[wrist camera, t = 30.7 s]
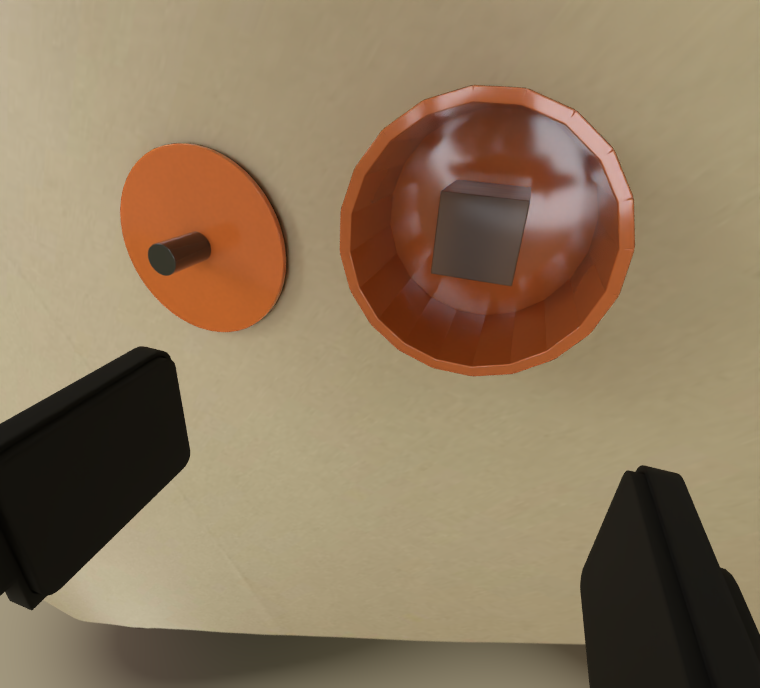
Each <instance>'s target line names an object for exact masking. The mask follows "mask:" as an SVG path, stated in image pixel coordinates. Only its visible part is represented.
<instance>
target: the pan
mask: <svg viewBox="0 0 760 688" xmlns="http://www.w3.org/2000/svg"><path fill="white" fill-rule="evenodd" d="M456 180H467V181H476V182H485V183H495V184H504V185H513V186H522V187H531V197H530V205H529V210H528V214H527V219H526V224H525V228H524V233H523V237H522V242H521V247H520V251H519V256H518V261H517V265H516V270H515V275H514V279H513V284H512V286H505V285H499V284H493V283H487V282H481V281H474V280H468V279H462V278H456V277H449V276H443V275H437V274H431V266H432V258H433V250H434V242H435V234H436V226H437V218H438V210H439V202H440V193H441V191H442V190H443V189H444V188H446V187H447V186H449V185H450V184H451V183H453V182H454V181H456ZM634 248H635V228H634V199H633V194H632V192H631V189H630V187H629V184H628V182H627V180H626V177H625V175H624V172H623V170H622V167H621V165H620V162H619V160H618V158H617V155H616V153H615V150H613V147H612V146H611V145H610V144H609V143H608V142H607V141H606V140H605V139H604V138H603V137H602V136H601V135H600V134H599V133H598V132H597V131H596V130H595V129H594V128H593V127H592V126H591V125H590V124H589V122H588V121H587V120H586V119H585V118H584V117H583V116H582V115H581V114H580V113H579V112H578V111H576V110H575V109H573V108H571V107H568V106H566V105H564V104H562V103H560V102H557V101H555V100H553V99H551V98H548V97H546V96H544V95H542V94H540V93H537V92H535V91H533V90H531V89H526V88H521V87H503V86H485V85H471V86H468V87H464V88H461V89H458V90H454V91H451V92H448V93H444V94H441V95H438V96H435V97H431V98H428V99H425V100H423V101H421V102H420V103H418V104H417V105H415V106H414V107H413V108H411V109H410V110H409V111H407V112H406V113H404V114H403V115H402V116H400V117H399V118H397V119H396V120H395V121H393V122H392V123H391V124H389V125H388V126H386V127H385V128H384V129H383V130H382V131H381V132H380V133H379V135H378V136H377V138H376V139H375V140H374V142H373V143H372V144H371V146H370V147H369V149H368V150H367V151H366V153H365V154H364V156H363V157H362V158H361V160H360V161H359V162H358V164H357V165H356V167H355V169H354V171H353V174H352V177H351V180H350V183H349V186H348V189H347V192H346V195H345V198H344V201H343V204H342V207H341V219H340V255H341V259H342V262H343V266H344V270H345V273H346V277H347V281H348V284H349V288H350V290H351V293H352V294H353V296H354V298H355V299H356V301H357V303H358V304H359V306H360V308H361V309H362V311H363V313H364V314H365V316H366V317H367V319H368V321H369V322H370V323H371V325H372V326H373V327H374V328H375V329H376V330H377V331H378V332H380V333H381V334H382V335H383V336H384V337H385V338H386V339H387V340H388V341H389V342H390V343H391V344H392V345H394V346H395V347H396V348H397V349H398V350H399V351H401V352H403V353H405V354H407V355H409V356H411V357H413V358H415V359H417V360H418V361H420V362H422V363H424V364H426V365H428V366H430V367H432V368H433V367H434V368H435V369H440V370H445V371H449V372H454V373H459V374H463V375H468V376H486V375H503V374H513V373H517V372H520V371H523V370H526V369H528V368H531V367H534V366H537V365H540V364H543V363H546V362H549V361H551V360H553V359H556V358H557V357H558V356H560V355H561V354H563V353H564V352H565V351H567V350H568V349H570V348H571V347H572V346H574V345H575V344H577V343H578V342H579V341H581V340H582V339H584V338H585V337H586V336H588V335H589V334H590V333H591V332H592V331H593V329H594V328H595V327H596V325H597V324H598V323H599V321H600V320H601V319H602V317H603V316H604V315H605V314H606V312H607V311H608V310H609V308H610V307H611V306H612V304H613V303H614V302H615V300H616V299H617V298H618V295H619V294H620V291H621V288H622V286H623V283H624V280H625V277H626V274H627V271H628V268H629V265H630V262H631V259H632V256H633V253H634Z"/></svg>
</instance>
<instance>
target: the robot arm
mask: <svg viewBox="0 0 760 688" xmlns="http://www.w3.org/2000/svg"><path fill="white" fill-rule="evenodd" d="M189 458H190V447H189V441H188V436H187V430H186V424H185V418H184V413H183V407H182V401H181V395H180V390H179V384H178V378H177V372H176V367H175V363H174V362H173V361H172V360H171V358H170V356H169V354H168V353H166V352H164V351H161V350H157V349H152V348H148V347H141V346H140V347H137V348H135V349H133V350H131V351H129V352H127V353H126V354H124V355H122V356H120V357H119V358H117V359H115V360H113V361H111V362H110V363H108V364H106V365H104V366H103V367H101V368H99V369H97V370H95V371H94V372H92V373H90V374H88V375H86V376H85V377H83V378H81V379H79V380H78V381H76V382H74V383H72V384H70V385H69V386H67V387H65V388H63V389H62V390H60V391H58V392H56V393H54V394H53V395H51V396H49V397H47V398H46V399H44V400H42V401H40V402H38V403H37V404H35V405H33V406H31V407H29V408H28V409H26V410H24V411H22V412H21V413H19V414H17V415H15V416H13V417H12V418H10V419H8V420H6V421H5V422H3V423H1V424H0V595H2V594H3V593H4V592H6V594H7V596H8V598H9V600H10V601H12V602H14V603H16V604H18V605H21V606H23V607H26V608H27V609H30V610H33V609H34V608H35V607H36V606H37V605H38V604H39V603H40V602H41V601H42V600H43V599H44V598H45V597H46V596H47V595H52V594H53V593H55V592H57V591H58V590H59V589H61V588H62V587H63V586H64V585H65V584H66V583H67V582H68V581H69V580H70V579H71V578H72V577H73V576H74V575H75V574H76V573H77V572H78V571H79V570H80V569H81V568H82V567H83V566H84V565H85V564H86V563H87V562H88V561H89V560H90V559H91V558H92V557H93V556H95V555H96V554H97V553H98V552H99V551H100V550H101V549H102V548H103V547H104V546H105V545H106V544H107V543H108V542H109V541H110V540H111V539H112V538H113V537H114V536H115V535H116V534H117V533H118V532H119V531H120V530H121V529H122V528H123V527H124V526H125V525H126V524H127V523H128V522H129V521H130V520H131V519H132V518H133V517H134V516H135V515H136V514H137V513H138V512H139V511H140V510H141V509H142V508H144V507H145V506H146V505H147V504H148V503H149V502H150V501H151V500H152V499H153V498H154V497H155V496H156V495H157V494H158V493H159V492H160V491H161V490H162V489H163V488H164V487H165V486H166V485H167V484H168V483H169V482H170V481H171V480H172V479H173V478H174V477H175V476H176V475H177V474H178V473H179V472H180V471H181V470H182V469H183V468H184V467H185V466H186V464H187V463H188V461H189ZM580 590H581V601H582V612H583V622H584V633H585V643H586V652H587V664H588V673H589V683H590V688H760V634H759V632H758V630H757V627H756V625H755V623H754V620H753V618H752V616H751V614H750V611H749V609H748V607H747V604H746V602H745V600H744V598H743V595H742V593H741V591H740V589H739V586H738V584H737V583H736V581H735V579H734V578H733V576H732V575H731V574H730V573H729V572H728V571H727V570H726V569H723V568H720V566H719V564H718V562H717V559H716V557H715V554H714V552H713V550H712V547H711V545H710V542H709V540H708V537H707V535H706V533H705V530H704V528H703V525H702V523H701V521H700V518H699V516H698V513H697V511H696V509H695V506H694V504H693V501H692V499H691V497H690V494H689V492H688V489H687V487H686V484H685V482H684V480H683V478H682V477H681V475H679V474H678V473H673V472H669V471H665V470H661V469H657V468H652V467H648V466H644V465H642V466H640V467H639V468H638V469H637V470H636V472H633V471H626V472H625V473H624V475H623V477H622V479H621V481H620V484H619V486H618V488H617V491H616V493H615V495H614V498H613V500H612V502H611V505H610V507H609V509H608V512H607V514H606V516H605V519H604V521H603V523H602V526H601V528H600V530H599V533H598V535H597V537H596V540H595V542H594V544H593V547H592V549H591V551H590V554H589V556H588V558H587V561H586V563H585V565H584V568H583V571H582V575H581V583H580Z"/></svg>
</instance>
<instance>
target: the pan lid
mask: <svg viewBox="0 0 760 688" xmlns="http://www.w3.org/2000/svg"><path fill="white" fill-rule="evenodd" d="M120 215H121V226H122V233H123V237H124V241H125V245H126V248H127V251H128V253H129V256H130V258H131V261H132V263H133V265H134V267H135V269H136V271H137V272H138V274H139V276H140V278H141V279H142V281H143V282H144V283H145V285H146V286H147V288H148V289H149V290H150V291H151V293H152V294H153V295H154V296H155V297H156V298H157V299H158V300H159V301H160V302H161V303H162V304H163V305H164V306H165V307H166V308H167V309H168V310H170V311H171V312H172V313H174V314H175V315H176V316H178V317H179V318H181V319H183V320H184V321H186V322H188V323H190V324H192V325H195V326H197V327H199V328H203V329H206V330H210V331H217V332H232V331H239V330H242V329H245V328H248V327H250V326H252V325H254V324H255V323H257V322H258V321H259V320H261V319H262V318H264V317H265V316H266V315H267V314H268V313H269V312H270V311H271V309H272V308H273V306H274V305H275V303H276V302H277V300H278V298H279V296H280V294H281V291H282V287H283V284H284V280H285V273H286V251H285V243H284V239H283V234H282V231H281V228H280V224H279V221H278V219H277V217H276V214H275V212H274V210H273V208H272V206H271V204H270V202H269V201H268V199H267V197H266V196H265V194H264V193H263V191H262V190H261V189H260V187H259V186H258V184H257V183H256V182H255V181H254V180H253V179H252V178H251V176H250V175H249V174H248V173H247V172H246V171H245V170H243V169H242V168H241V167H240V166H239V165H238V164H237V163H235V162H234V161H232V160H231V159H229V158H228V157H226V156H225V155H223V154H221V153H219V152H217V151H215V150H213V149H210V148H207V147H204V146H201V145H196V144H191V143H174V144H168V145H163V146H160V147H158V148H155V149H153V150H151V151H150V152H148V153H146V154H145V155H144V156H143V157H142V158H141V159H139V160H138V161H137V163H136V164H135V165H134V167H133V168H132V169H131V171H130V173H129V175H128V177H127V179H126V182H125V185H124V188H123V192H122V197H121V207H120Z"/></svg>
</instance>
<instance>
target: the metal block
mask: <svg viewBox="0 0 760 688" xmlns="http://www.w3.org/2000/svg"><path fill="white" fill-rule="evenodd" d="M530 197H531V187H522V186H513V185H504V184H495V183H485V182H476V181H467V180H456V181H454V182H453V183H451V184H450V185H449V186H447V187H446V188H444V189H443V190H442V191H441V193H440V202H439V210H438V218H437V226H436V234H435V242H434V250H433V258H432V266H431V274H437V275H443V276H449V277H456V278H462V279H468V280H474V281H481V282H487V283H493V284H499V285H505V286H512V284H513V279H514V275H515V270H516V265H517V261H518V256H519V251H520V247H521V242H522V237H523V233H524V228H525V224H526V219H527V214H528V210H529V205H530Z"/></svg>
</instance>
